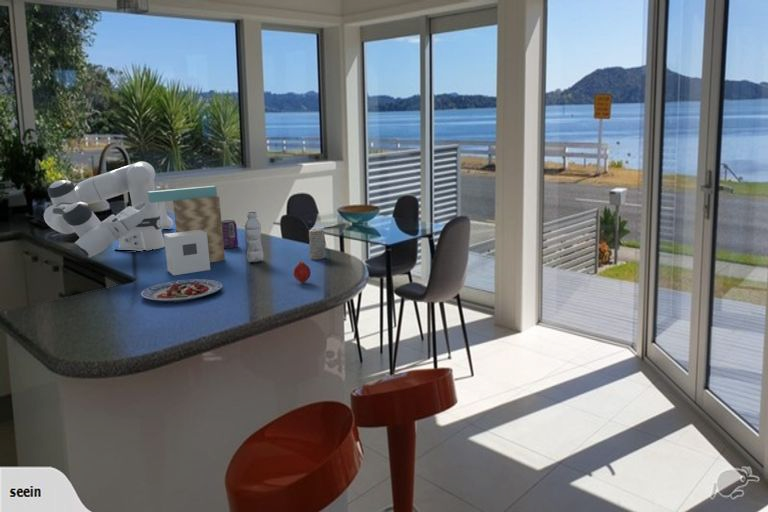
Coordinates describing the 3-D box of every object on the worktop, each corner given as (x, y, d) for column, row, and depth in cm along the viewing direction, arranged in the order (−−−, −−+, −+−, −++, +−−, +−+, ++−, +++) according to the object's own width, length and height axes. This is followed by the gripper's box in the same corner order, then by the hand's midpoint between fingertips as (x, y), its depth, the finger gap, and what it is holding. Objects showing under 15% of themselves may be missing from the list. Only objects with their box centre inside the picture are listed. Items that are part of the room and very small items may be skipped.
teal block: (150, 202, 256) (149, 192, 255) (148, 201, 259) (147, 191, 258) (217, 196, 268) (216, 186, 267) (214, 195, 272) (213, 185, 271)
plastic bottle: (267, 260, 267) (263, 211, 263) (258, 264, 261) (254, 214, 257) (253, 259, 270) (249, 211, 265) (244, 263, 263) (240, 213, 259)
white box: (173, 275, 248) (169, 237, 245) (167, 271, 256) (163, 234, 253) (210, 269, 255) (206, 232, 252) (203, 265, 263) (200, 229, 259)
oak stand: (185, 265, 263) (178, 200, 258) (179, 261, 272) (172, 198, 266) (225, 260, 271) (219, 196, 266) (217, 256, 280) (211, 194, 274)
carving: (310, 261, 263) (308, 231, 261) (309, 257, 270) (307, 228, 268) (326, 260, 264) (324, 230, 261) (325, 256, 271) (323, 227, 269)
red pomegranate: (294, 281, 231) (293, 259, 230) (311, 280, 232) (309, 258, 230) (294, 285, 226) (292, 263, 224) (311, 284, 226) (309, 262, 224)
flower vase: (142, 230, 354) (137, 183, 349) (177, 226, 364) (172, 180, 359) (149, 233, 344) (143, 185, 338) (184, 228, 353) (179, 182, 348)
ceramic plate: (162, 285, 234) (161, 277, 234) (232, 284, 232) (232, 276, 231) (127, 306, 209) (126, 297, 209) (206, 305, 207) (205, 296, 206)
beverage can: (240, 245, 301) (238, 219, 299) (235, 248, 294) (233, 222, 292) (225, 245, 302) (222, 219, 299) (219, 249, 295) (217, 222, 292)
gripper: (117, 229, 262) (146, 208, 266) (126, 236, 245) (158, 213, 249) (107, 216, 259) (136, 195, 264) (116, 222, 242) (147, 200, 246)
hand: (147, 204), depth 256 cm, fingers open, 8 cm apart
